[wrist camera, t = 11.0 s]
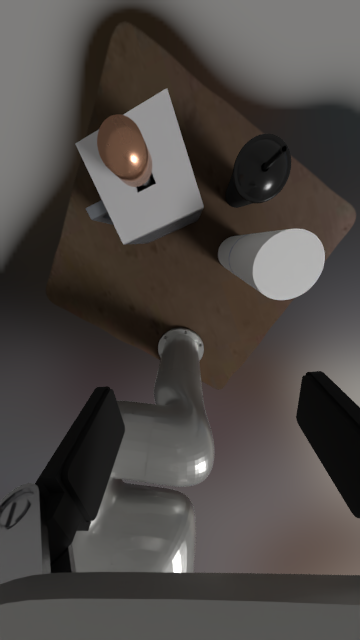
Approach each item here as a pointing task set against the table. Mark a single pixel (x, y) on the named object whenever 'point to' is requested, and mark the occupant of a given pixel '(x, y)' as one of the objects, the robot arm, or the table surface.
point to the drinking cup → (259, 171)
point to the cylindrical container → (275, 261)
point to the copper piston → (125, 151)
